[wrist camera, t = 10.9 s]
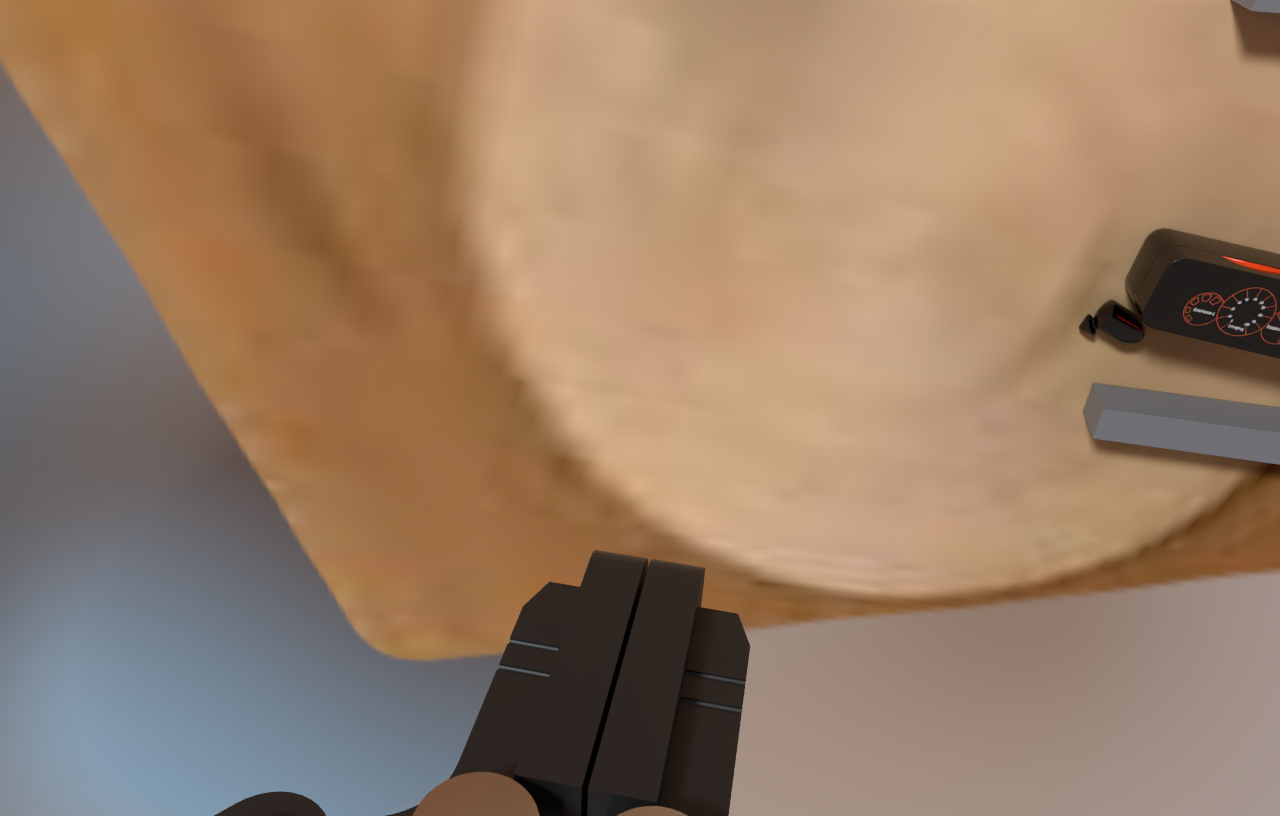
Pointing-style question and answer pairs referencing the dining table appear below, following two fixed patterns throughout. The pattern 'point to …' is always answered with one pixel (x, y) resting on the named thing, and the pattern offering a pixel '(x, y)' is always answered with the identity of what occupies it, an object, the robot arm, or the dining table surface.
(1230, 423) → the slot rails
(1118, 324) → the wireless earbuds
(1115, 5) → the dining table surface
